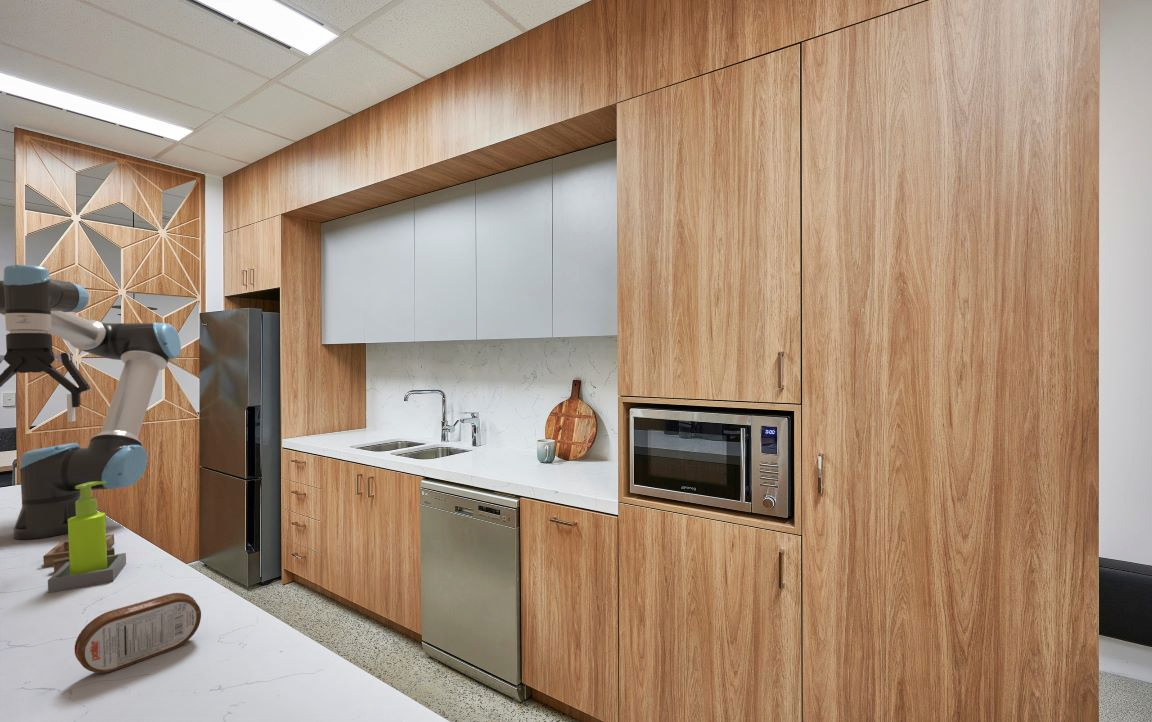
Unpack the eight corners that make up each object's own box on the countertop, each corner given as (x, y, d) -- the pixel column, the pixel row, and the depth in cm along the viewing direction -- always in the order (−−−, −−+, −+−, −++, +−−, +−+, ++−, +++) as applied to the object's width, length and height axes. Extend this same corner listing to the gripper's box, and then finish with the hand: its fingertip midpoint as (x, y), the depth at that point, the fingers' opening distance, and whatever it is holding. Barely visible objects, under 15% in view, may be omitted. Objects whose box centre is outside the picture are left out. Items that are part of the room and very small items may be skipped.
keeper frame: (67, 573, 117) (66, 562, 117) (126, 563, 121) (125, 552, 121) (48, 592, 107) (47, 580, 107) (113, 581, 112) (112, 569, 112)
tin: (198, 634, 89) (196, 583, 89) (204, 640, 87) (202, 588, 87) (75, 678, 77) (72, 620, 77) (79, 686, 75) (76, 626, 75)
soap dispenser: (119, 570, 118) (116, 479, 117) (88, 584, 111) (84, 487, 110) (95, 570, 118) (91, 479, 118) (62, 583, 111) (58, 487, 111)
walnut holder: (61, 552, 130) (60, 541, 130) (114, 544, 135) (113, 534, 135) (43, 567, 121) (43, 556, 121) (101, 558, 126) (101, 547, 125)
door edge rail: (53, 571, 118) (53, 560, 118) (113, 557, 125) (113, 547, 125) (54, 573, 117) (54, 562, 117) (114, 560, 124) (114, 549, 124)
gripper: (-58, 332, 116) (-53, 430, 116) (94, 331, 128) (98, 420, 128) (-40, 333, 122) (-36, 426, 123) (103, 333, 134) (106, 417, 135)
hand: (33, 424), depth 125 cm, fingers open, 13 cm apart
